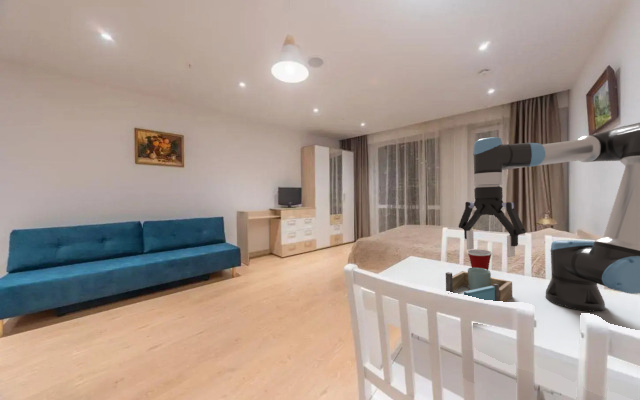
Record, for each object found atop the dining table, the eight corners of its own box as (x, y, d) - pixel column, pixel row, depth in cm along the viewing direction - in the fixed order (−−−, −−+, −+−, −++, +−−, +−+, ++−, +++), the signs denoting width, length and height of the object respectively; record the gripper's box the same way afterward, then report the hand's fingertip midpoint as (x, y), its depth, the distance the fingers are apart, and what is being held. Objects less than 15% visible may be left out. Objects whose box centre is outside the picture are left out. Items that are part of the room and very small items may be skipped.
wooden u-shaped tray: (512, 296, 96) (512, 275, 96) (499, 308, 87) (498, 285, 87) (461, 283, 111) (461, 265, 111) (446, 292, 102) (445, 273, 102)
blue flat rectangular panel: (491, 305, 89) (491, 285, 89) (495, 306, 88) (495, 287, 88) (464, 312, 85) (463, 291, 84) (467, 313, 83) (467, 293, 83)
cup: (494, 298, 95) (494, 273, 95) (472, 297, 96) (472, 273, 96) (485, 291, 102) (485, 267, 102) (465, 290, 104) (464, 267, 104)
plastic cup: (462, 272, 127) (461, 249, 126) (479, 270, 129) (479, 248, 128) (479, 279, 116) (478, 254, 116) (498, 277, 118) (497, 252, 118)
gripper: (539, 184, 70) (541, 258, 70) (459, 187, 91) (460, 244, 92) (526, 184, 67) (528, 262, 67) (446, 188, 88) (448, 247, 88)
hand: (489, 252), depth 79 cm, fingers open, 12 cm apart
